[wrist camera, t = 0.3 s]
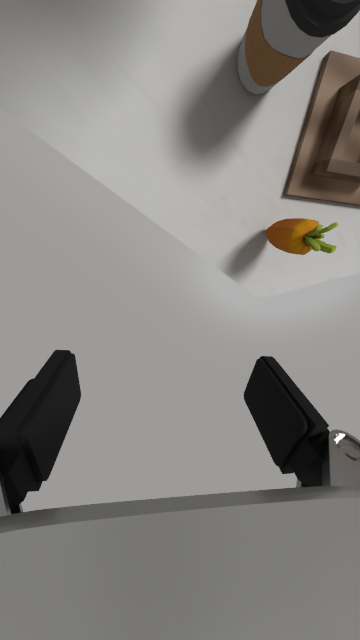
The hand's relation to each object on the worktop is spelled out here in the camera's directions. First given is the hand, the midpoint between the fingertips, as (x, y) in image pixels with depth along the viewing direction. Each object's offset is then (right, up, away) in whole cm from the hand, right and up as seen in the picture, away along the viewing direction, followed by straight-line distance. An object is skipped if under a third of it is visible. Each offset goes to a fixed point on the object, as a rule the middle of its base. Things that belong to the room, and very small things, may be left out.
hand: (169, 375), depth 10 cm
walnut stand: (+27, +31, +21) cm, 47 cm away
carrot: (+17, +20, +27) cm, 37 cm away
